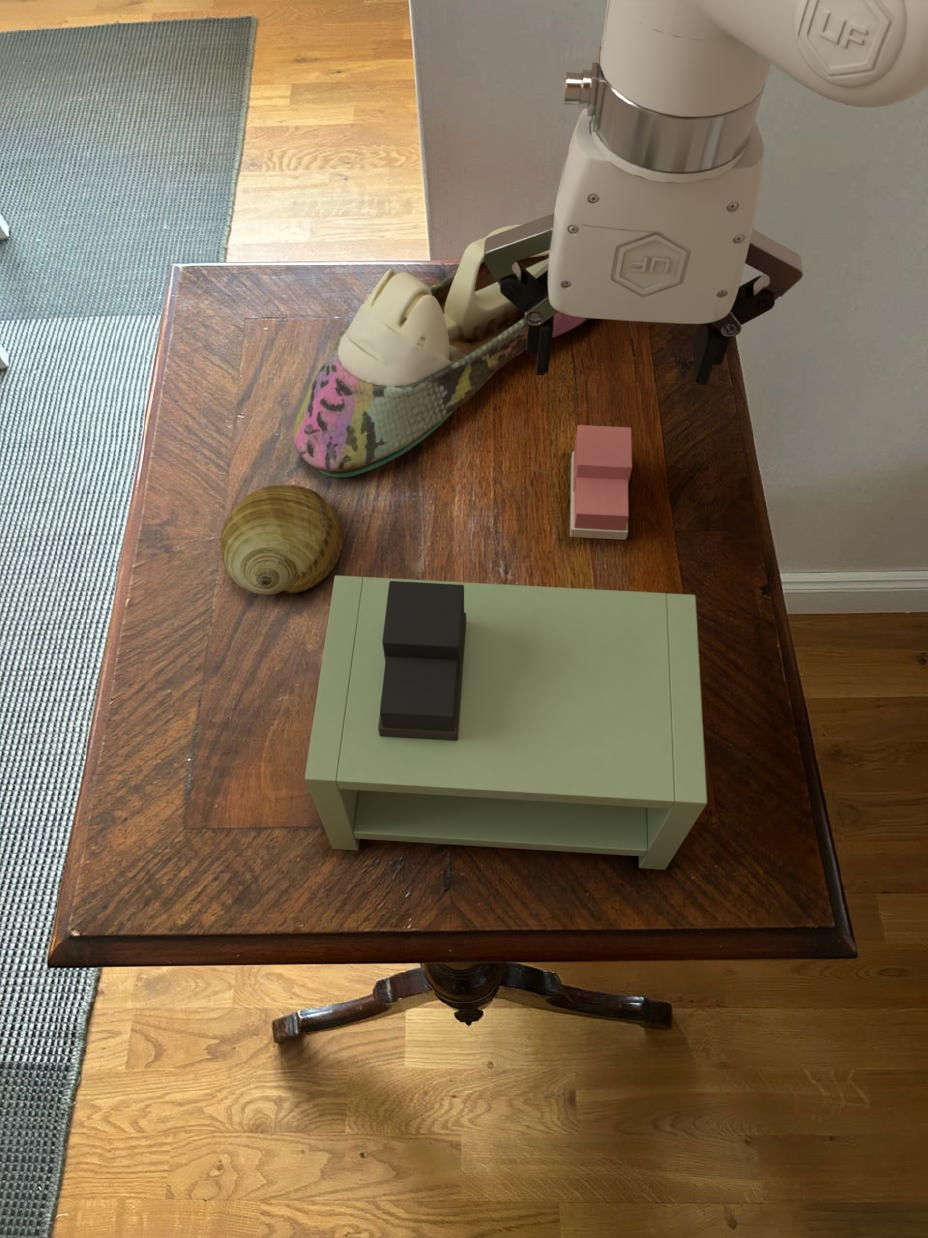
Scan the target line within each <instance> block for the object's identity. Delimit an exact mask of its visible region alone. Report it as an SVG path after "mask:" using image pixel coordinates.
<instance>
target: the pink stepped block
mask: <svg viewBox="0 0 928 1238" xmlns="http://www.w3.org/2000/svg"><path fill="white" fill-rule="evenodd" d="M632 432H633V431H632V427H629V426H610V425H609V426H608V425H588V424H587V425H586V424H578V425H577V428H576V433H575V434H576V435H575V441H574V448H573V449H574V450H573V451H572V452H571V458H570V502H569V503H570V506H569V507H570V509H569V512H570V513H569V537H570V538H585V539H602V540H624V541H625V540H627V537H628V533H629V516H630V514H629V512H630V510H629V509H630V507H629V506H630V505H629V484H630V479H631V475H632V470H633V441H632V440H633V437H632V436H633V435H632Z"/></svg>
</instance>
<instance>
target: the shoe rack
mask: <svg viewBox="0 0 928 1238" xmlns="http://www.w3.org/2000/svg"><path fill="white" fill-rule="evenodd" d="M390 581H401V582H420V583H438V584H457V585H464V613H466V633H465V647H464V661H463V675H462V688H461V702H460V716H459V730H458V740H457V741H451V740H434V739H417V738H401V737H384V736H380V735H379V730H378V725H379V717H380V705H381V696H382V687H383V679H384V670H385V657H384V650H383V644H382V640H383V631H384V623H385V614H386V606H387V597H388V589H389V582H390ZM331 592H332V593H331V599H330V604H329V605H330V606H329V612H328V619H327V626H326V634H325V639H324V646H323V653H322V660H321V666H320V673H319V681H318V687H317V694H316V699H315V700H316V701H315V706H314V712H313V721H312V726H311V732H310V734H311V735H310V739H309V740H310V741H309V748H308V754H307V760H306V767H305V774H304V780H305V783H306V785H307V788H308V790H309V793H310V795H311V798H312V801H313V802H314V805H315V807H316V811H317V814H318V816H319V819H320V821H321V823H322V826H323V828H324V829H323V830H324V832H325V833H326V836H327V838H328V841H329V843H330V846H331V848H332V850H344V851H359V848H360V840H372V841H373V840H375V841H392V842H405V843H406V842H407V843H422V844H424V843H425V844H439V845H456V846H469V847H470V846H471V847H472V846H473V847H488V848H502V849H517V850H518V849H519V850H537V851H549V852H550V851H551V852H552V851H553V852H566V853H583V854H598V855H599V854H600V855H617V856H629V857H631V856H632V857H638V869H647V870H650V869H651V870H664V871H665V870H666V869H667V867H668V866H669V865H670V863H671V861H672V860H673V858H674V857H675V855H676V853H677V852H678V850H679V849H680V847H681V846H682V844H683V842H684V841H685V839H686V837H687V836H688V834H689V833H690V831H691V829H692V828H693V826H694V825H695V823H696V821H698V819H699V817H700V815H701V814H702V812H703V811H704V809H705V807H706V806H707V804H708V791H707V775H706V774H707V772H706V759H705V758H706V754H705V753H706V752H705V738H704V737H705V736H704V721H703V720H704V719H703V701H702V685H701V683H702V682H701V667H700V666H701V665H700V648H699V647H700V645H699V632H698V631H699V630H698V613H697V611H698V610H697V597H696V594H685V593H668V592H652V591H635V590H634V591H633V590H616V589H595V588H577V587H560V586H559V587H558V586H557V587H556V586H542V585H541V586H540V585H539V586H538V585H523V584H522V585H521V584H503V583H486V582H485V583H484V582H483V583H482V582H467V581H466V582H464V581H449V580H448V581H447V580H446V581H445V580H428V579H411V578H410V579H408V578H393V577H392V578H390V577H371V576H355V575H335V576H334V579H333V585H332V591H331Z"/></svg>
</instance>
